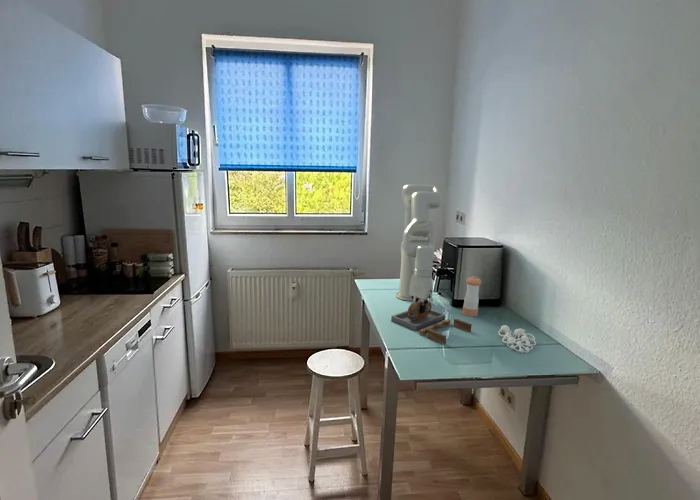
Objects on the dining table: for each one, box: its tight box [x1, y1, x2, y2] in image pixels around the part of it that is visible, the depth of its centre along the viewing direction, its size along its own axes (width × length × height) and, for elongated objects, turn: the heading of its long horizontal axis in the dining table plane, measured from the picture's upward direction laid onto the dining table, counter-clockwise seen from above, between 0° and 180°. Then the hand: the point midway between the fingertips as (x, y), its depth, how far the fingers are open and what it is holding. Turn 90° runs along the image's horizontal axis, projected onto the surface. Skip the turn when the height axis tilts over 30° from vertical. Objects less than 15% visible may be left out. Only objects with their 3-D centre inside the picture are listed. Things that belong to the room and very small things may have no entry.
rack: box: [419, 318, 473, 345], centre depth 174 cm, size 21×12×4 cm, turn 134°
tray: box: [390, 309, 446, 332], centre depth 187 cm, size 22×14×2 cm, turn 134°
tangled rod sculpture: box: [497, 324, 537, 354], centre depth 168 cm, size 19×14×4 cm
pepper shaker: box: [461, 275, 482, 317], centre depth 197 cm, size 7×7×19 cm
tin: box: [407, 299, 432, 321], centre depth 186 cm, size 15×3×8 cm, turn 133°
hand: (419, 311), depth 186 cm, fingers open, 2 cm apart
